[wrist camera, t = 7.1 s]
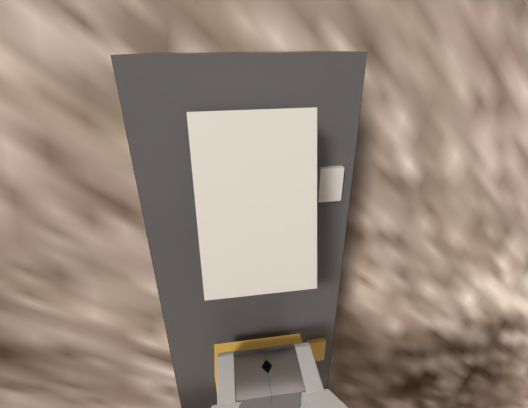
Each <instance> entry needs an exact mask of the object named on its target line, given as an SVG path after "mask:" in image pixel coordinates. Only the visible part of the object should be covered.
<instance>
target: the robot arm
mask: <svg viewBox="0 0 528 408" xmlns="http://www.w3.org/2000/svg"><path fill="white" fill-rule="evenodd" d="M211 408H348V407H347V406H346V405H345V404H344V403H343V402H342V401H341V400H340V399H339V398H338V397H337V396H336V395H334V394H333V393H332V392H331V391H330V390H329V389H324V388H323V384H322V381H321V378H320V375H319V372H318V368H317V365H316V362H315V359H314V355H313V352H312V349H311V346H310V344H309V343H308V342H304V343H297V344H286V345H279V346H272V347H265V348H263V349H252V350H242V351H234V352H233V351H232V352H223V353H218V356H217V405H212V407H211Z"/></svg>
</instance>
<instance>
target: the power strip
mask: <svg viewBox="0 0 528 408" xmlns="http://www.w3.org/2000/svg"><path fill="white" fill-rule="evenodd" d="M366 58H367V52H347V51H301V52H222V53H142V54H122V55H111V59H112V64H113V69H114V74H115V79H116V84H117V89H118V94H119V99H120V104H121V109H122V114H123V119H124V124H125V129H126V134H127V139H128V144H129V149H130V154H131V159H132V164H133V169H134V174H135V179H136V184H137V189H138V194H139V199H140V204H141V209H142V213H143V218H144V223H145V228H146V233H147V238H148V243H149V248H150V253H151V258H152V263H153V268H154V273H155V278H156V283H157V288H158V293H159V298H160V303H161V308H162V313H163V318H164V323H165V328H166V333H167V338H168V343H169V348H170V353H171V358H172V363H173V368H174V373H175V378H176V383H177V388H178V392H179V397H180V402H181V407H182V408H211V407H212V405H217V391H216V383H215V373H214V344H221V343H229V342H237V341H245V340H253V339H261V338H268V337H276V336H284V335H292V334H300V336H301V339H302V343H304V342H308V343H309V344H310V346H311V349H312V352H313V355H314V359H315V362H316V365H317V368H318V372H319V375H320V378H321V381H322V384H323V388H324V389H327V385H328V377H329V368H330V360H331V351H332V343H333V335H334V326H335V318H336V310H337V301H338V293H339V284H340V276H341V268H342V259H343V251H344V242H345V234H346V226H347V217H348V209H349V201H350V192H351V184H352V175H353V167H354V159H355V150H356V142H357V134H358V125H359V117H360V108H361V100H362V92H363V83H364V75H365V66H366ZM312 107H317V288H316V289H307V290H298V291H289V292H280V293H270V294H261V295H252V296H243V297H234V298H225V299H215V300H206V301H204V290H203V280H202V269H201V259H200V249H199V238H198V228H197V217H196V207H195V196H194V186H193V175H192V165H191V155H190V144H189V134H188V123H187V113H186V112H199V111H227V110H256V109H284V108H312Z"/></svg>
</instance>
